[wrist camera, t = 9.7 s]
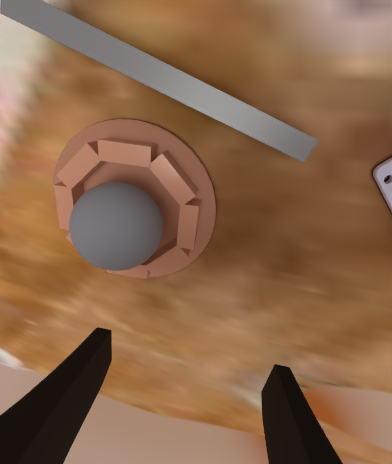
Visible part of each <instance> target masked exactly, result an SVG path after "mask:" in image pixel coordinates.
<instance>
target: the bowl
mask: <svg viewBox="0 0 392 464" xmlns="http://www.w3.org/2000/svg"><path fill="white" fill-rule="evenodd" d="M114 181H117V182H125V183H130V184H133V185H135V186H137V187H139V188H141V189H143V190H144V191H145V192H147V193H148V194H149V195H150V196H151V197H152V198H153V199H154V201H155V202H156V204H157V205H158V207H159V209H160V212H161V215H162V219H163V234H162V238H161V241H160V244H159V246H158V248H157V249H156V251H155V252H154V253H153V255H152V256H151V257H150V258H149V259H148V260H146V261H145V262H144V263H142V264H140V265H139V266H137V267H134V268H131V269H128V270H122V271H111V270H106V272H108V273H114V274H120V275H126V276H132V277H138V278H144V279H147V278H148V277H160V276H164V275H169V274H172V273H174V272H177V271H179V270H181V269H183V268H185V267H186V266H188V265H189V264H191V263H192V262H193V261H194V260H195V259H196V258H197V257H198V256H199V255H200V254H201V253H202V252H203V250H204V249H205V247H206V246H207V244H208V242H209V240H210V238H211V235H212V233H213V229H214V225H215V217H216V198H215V193H214V188H213V185H212V182H211V179H210V177H209V175H208V172H207V170H206V168H205V167H204V165H203V164H202V162H201V160H200V159H199V157H198V156H197V155H196V154H195V153H194V152H193V150H192V149H191V148H190V147H189V146H188V145H187V144H186V143H184V142H183V141H182V140H181V139H180V138H178V137H177V136H175V135H174V134H173V133H171V132H169V131H167V130H165V129H164V128H162V127H160V126H157V125H154V124H151V123H149V122H144V121H140V120H133V119H117V120H107V121H104V122H100V123H96V124H94V125H92V126H89V127H87V128H86V129H84V130H82V131H81V132H79V133H78V134H77V135H76V136H75V137H74V138H72V139H71V140H70V141H69V143H68V144H67V145H66V147H65V148H64V149H63V151H62V153H61V155H60V157H59V159H58V162H57V165H56V168H55V173H54V179H53V192H54V200H55V204H56V209H57V211H58V217H59V224H60V229H66V231H67V232H68V234H69V235H67V236H66V237H65V238H66V239H67V240H69V241H70V242H71V243H72V244H73V242H72V240H71V236H70V231H69V221H70V215H71V212H72V210H73V207H74V205H75V204H76V202H77V201H78V199H79V198H80V197H81V196H82V195H83V194H84V193H85V192H86V191H88V190H89V189H91V188H92V187H94V186H96V185H99V184H102V183H106V182H114ZM73 245H74V244H73ZM97 268H98V267H97Z"/></svg>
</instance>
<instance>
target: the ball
mask: <svg viewBox="0 0 392 464" xmlns="http://www.w3.org/2000/svg"><path fill="white" fill-rule="evenodd" d="M69 231H70V236H71V240H72V242H73V244H74V246H75V248H76V250H77V251H78V253H79V254H80V255H81V256H82V257H83V258H84V259H85V260H86V261H88V262H89V263H91V264H92V265H94V266H96V267H99V268H102V269H105V270H111V271H122V270H128V269H131V268H134V267H137V266H139V265H140V264H142V263H144V262H145V261H146V260H148V259H149V258H150V257H151V256H152V255H153V253H154V252H155V251H156V249H157V248H158V246H159V244H160V241H161V238H162V234H163V219H162V215H161V212H160V209H159V207H158V205H157V204H156V202H155V201H154V199H153V198H152V197H151V196H150V195H149V194H148V193H147V192H145V191H144V190H143V189H141V188H139V187H137V186H135V185H133V184H130V183H125V182H117V181H114V182H106V183H102V184H99V185H96V186H94V187H92V188H91V189H89V190H88V191H86V192H85V193H84V194H83V195H82V196H81V197H80V198H79V199H78V201H77V202H76V204H75V205H74V207H73V210H72V212H71V215H70V221H69Z"/></svg>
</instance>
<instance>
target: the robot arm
mask: <svg viewBox="0 0 392 464" xmlns="http://www.w3.org/2000/svg"><path fill="white" fill-rule="evenodd" d="M388 175H389V176H390V178H389V180H388V181H386V182H384V178H385V177H386V176H388ZM373 176H374V178H375V180H376V182H377V184H378V186H379V188H380V190H381V192H382V194H383V196H384V198H385V200H386V202H387V204H388V206H389V208H390V210H391V212H392V158H390V159H388V160H386V161H385V162H383V163H381V164H380V165H378V166H377V167H376V168H375V169H374V171H373ZM111 360H112V349H111V330H108V329H103V328H96V329H95V330H94V331H93V332H92V333H91V334H90V335H89V336H88V337H87V338H86V339H85V340H84V341H83V342H82V343H81V345H80V346H79V347H78V348H77V349H76V350H74V351H73V352H72V353H71V354H70V355H69V356H68V357H67V358H66V359H65V360H64V361H63V362H62V363H61V364H60V365H59V366H58V367H57V368H56V369H55V370H54V371H52V372H51V373H50V374H49V375H48V376H47V377H46V378H45V379H44V380H42V381H41V382H40V383H39V384H38V385H37V386H36V387H34V388H33V389H32V390H31V391H30V392H29V393H27V394H26V395H25V396H24V397H23V398H22V399H21V400H19V401H18V402H17V403H15V404H14V405H13V406H12V407H10V408H9V409H8V410H7V411H5V412H4V413H3V414H2V415H0V464H63V463H64V460H65V458H66V456H67V454H68V452H69V449H70V448H71V446H72V444H73V442H74V439H75V438H76V436H77V434H78V432H79V430H80V428H81V426H82V424H83V422H84V420H85V418H86V416H87V414H88V412H89V410H90V408H91V406H92V404H93V402H94V400H95V398H96V396H97V394H98V392H99V390H100V388H101V386H102V384H103V381H104V379H105V376H106V374H107V371H108V368H109V366H110V363H111ZM261 393H262V416H263V426H264V433H265V440H266V447H267V454H268V460H269V464H343V463H342V462H341V460H340V458H339V457H338V455H337V453H336V452H335V450H334V449H333V447H332V445H331V443H330V442H329V440H328V438H327V437H326V435H325V433H324V431H323V429H322V428H321V426H320V424H319V422H318V421H317V419H316V417H315V415H314V414H313V412H312V410H311V408H310V406H309V404H308V402H307V400H306V398H305V397H304V395H303V393H302V391H301V389H300V387H299V385H298V383H297V381H296V379H295V377H294V375H293V373H292V371H291V369H290V368H289V367H286V366H281V365H276V364H275V365H274V367H273V369H272V371H271V373H270V375H269V377H268V379H267V382H266V384H265V386H264V388H263V390H262V392H261Z"/></svg>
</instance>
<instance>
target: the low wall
mask: <svg viewBox="0 0 392 464" xmlns="http://www.w3.org/2000/svg"><path fill="white" fill-rule="evenodd" d="M0 13H1V14H3V15H5V16H7V17H9V18H11V19H13V20H15V21H17V22H19V23H21V24H23V25H25V26H27V27H29V28H31V29H33V30H35V31H37V32H39V33H41V34H43V35H45V36H47V37H49V38H51V39H53V40H55V41H58V42H60V43H62V44H64V45H66V46H68V47H70V48H72V49H74V50H76V51H78V52H80V53H82V54H84V55H86V56H88V57H90V58H92V59H94V60H96V61H98V62H100V63H102V64H104V65H106V66H108V67H110V68H112V69H114V70H116V71H118V72H120V73H123V74H125V75H127V76H129V77H131V78H133V79H135V80H137V81H139V82H141V83H143V84H145V85H147V86H149V87H151V88H153V89H155V90H157V91H159V92H161V93H163V94H165V95H167V96H169V97H171V98H173V99H175V100H177V101H179V102H181V103H183V104H185V105H188V106H190V107H192V108H194V109H196V110H198V111H200V112H202V113H204V114H206V115H208V116H210V117H212V118H214V119H216V120H218V121H220V122H222V123H224V124H226V125H228V126H230V127H232V128H234V129H236V130H238V131H240V132H242V133H244V134H246V135H248V136H250V137H252V138H255V139H257V140H259V141H261V142H263V143H265V144H267V145H269V146H271V147H273V148H275V149H277V150H279V151H281V152H283V153H285V154H287V155H289V156H291V157H293V158H295V159H297V160H299V161H301V162H303V163H304V162H305V160H306V159H307V157H308V156H309V154H310V152H311V151H312V149H313V148H314V146H315V145H316V143H317V142H318V140H317V139H315V138H313V137H311V136H309V135H307V134H305V133H303V132H301V131H299V130H297V129H295V128H293V127H291V126H289V125H287V124H285V123H283V122H281V121H279V120H277V119H275V118H273V117H271V116H269V115H267V114H265V113H263V112H261V111H259V110H257V109H256V108H254V107H252V106H250V105H248V104H246V103H244V102H242V101H240V100H238V99H236V98H234V97H232V96H230V95H228V94H226V93H224V92H222V91H220V90H218V89H216V88H214V87H212V86H210V85H208V84H206V83H204V82H202V81H200V80H198V79H196V78H194V77H192V76H190V75H188V74H186V73H184V72H182V71H180V70H178V69H176V68H174V67H172V66H170V65H168V64H166V63H164V62H162V61H160V60H158V59H156V58H154V57H152V56H150V55H148V54H147V53H145V52H143V51H141V50H139V49H137V48H135V47H133V46H131V45H129V44H127V43H125V42H123V41H121V40H119V39H117V38H115V37H113V36H111V35H109V34H107V33H105V32H103V31H101V30H99V29H97V28H95V27H93V26H91V25H89V24H87V23H85V22H83V21H81V20H79V19H77V18H75V17H73V16H71V15H69V14H67V13H65V12H63V11H61V10H59V9H57V8H55V7H53V6H51V5H49V4H47V3H45V2H43V1H41V0H1V7H0Z"/></svg>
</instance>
